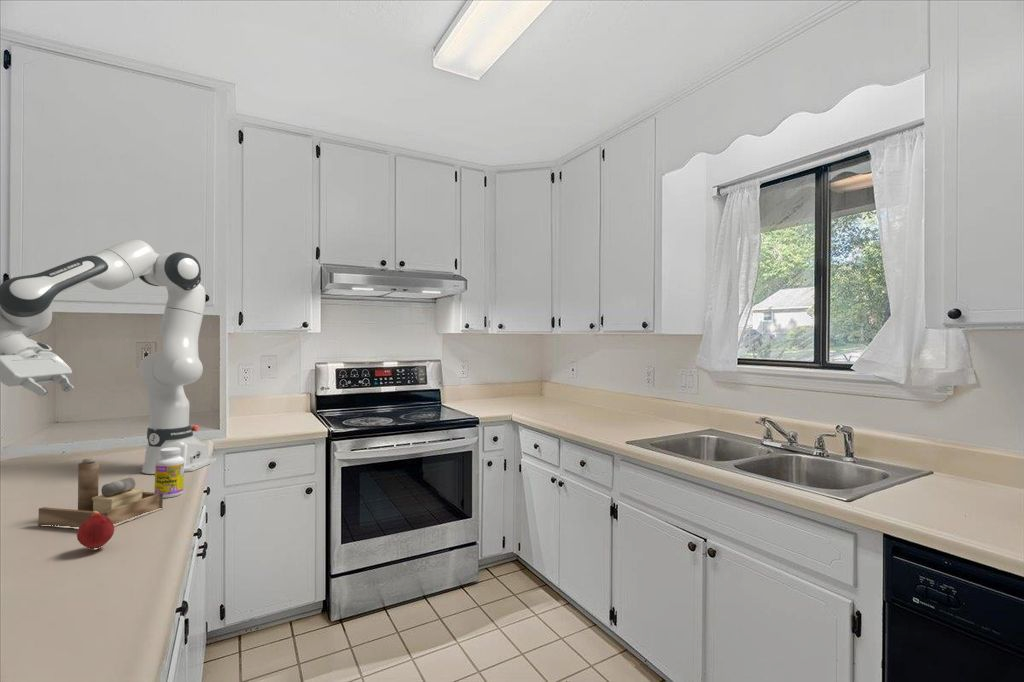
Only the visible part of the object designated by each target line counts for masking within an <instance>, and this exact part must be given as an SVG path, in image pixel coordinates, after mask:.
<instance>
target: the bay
mask: <svg viewBox="0 0 1024 682" xmlns="http://www.w3.org/2000/svg"><path fill="white" fill-rule="evenodd" d="M101 495H103V494H102V493H101ZM163 500H164V498H163V493H154V492H148V491H144V492H142V499H140V500H137V501H134V502H131V503H129V504H126V505H123V506H120V507H117V508H114V509H111V510H108V511H105V512H99V513H100V514H102V515H104V516H106V517H108V518H109V519H110V520H111V521H112V522H113V524H116V523H119V522H122V521H124V520H127V519H130V518H132V517H135V516H138V515H141V514H143V513H146V512H150V511H153V510H156V509H159V508H162V509H163V502H164V501H163ZM92 512H93V511H84V510H78V509H71V508H69V509H68V508H61V507H59V508H58V507H49V506H48V507H44V506H43V507H39V508H38V524H37V526H38V525H51V526H52V525H53V526H55V525H56V526H58V525H59V526H70V527H80V526H81V525H82V523H83V522H84V521H85V520H86V519H88V518H89V517H91V516H92Z"/></svg>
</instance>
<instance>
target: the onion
mask: <svg viewBox="0 0 1024 682" xmlns="http://www.w3.org/2000/svg"><path fill="white" fill-rule="evenodd" d="M114 533H115V527H114V525H113V522H112V521H111V520H110V519H109V518H108V517H106V516H104V515H102V514H100V513H99V512H98V511H93V512H92V516H91V517H89V518H88V519H86V520H85V521H84V522H83V523H82V525H81V526H80V527H79V529H78V530H77V532H76V538H77V541H78V543H79V544H80V545H82V546H83V547H85V548H87V549H89V548H90V549H89V550H91V549H94V548H99V547H100V548H102V547H104V546H105V545H106V544H107V543H108V542H109V541H110V540H111V539H112V537H114V536H113V535H114ZM101 546H102V547H101ZM100 548H99V549H100Z"/></svg>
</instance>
